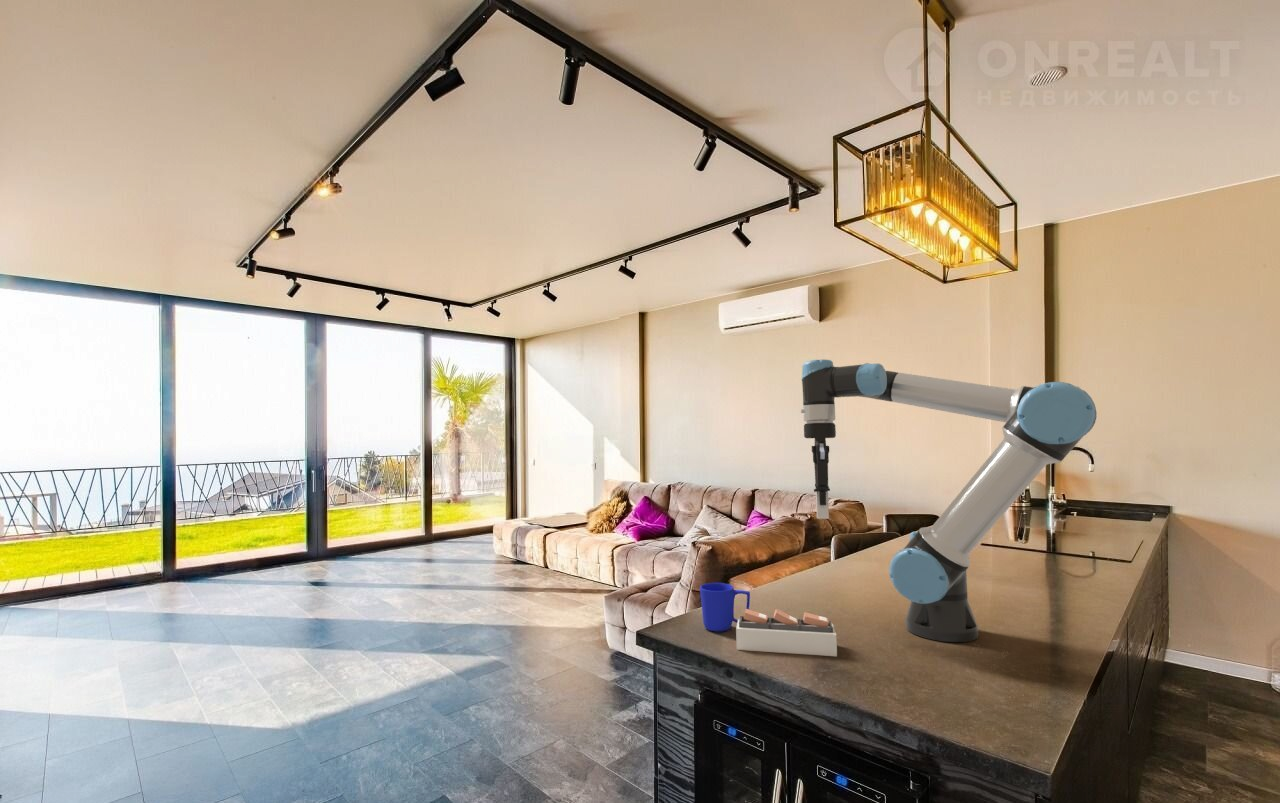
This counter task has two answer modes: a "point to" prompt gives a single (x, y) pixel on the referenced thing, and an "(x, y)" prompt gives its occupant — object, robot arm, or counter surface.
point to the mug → (719, 605)
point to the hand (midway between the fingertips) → (822, 518)
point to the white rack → (786, 637)
